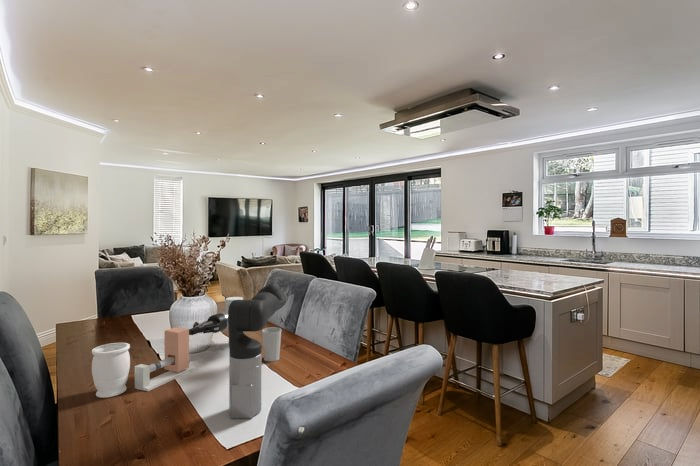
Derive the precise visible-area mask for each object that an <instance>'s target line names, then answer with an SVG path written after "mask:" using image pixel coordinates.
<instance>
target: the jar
mask: <svg viewBox="0 0 700 466" xmlns="http://www.w3.org/2000/svg"><path fill="white" fill-rule="evenodd" d="M130 348H131V344H130V343H128V342H114V343H106V344H102V345H99V346H96V347H94V348H93V349H92V350H91V354H92V355H93V357H92V361H91V375H92V379H93V384H94V387H95V389H96V390H97V391H96V393H95V396H96V397H97V398H100V399H101V398H102V399H104V398H113V397H116V396H119V395H121V394H123V393H124V392H126V391H127V386H126V384H127V382H128V379H129V372H130V369H131V356H130V352H129V350H130Z"/></svg>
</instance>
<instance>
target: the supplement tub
mask: <svg viewBox="0 0 700 466" xmlns="http://www.w3.org/2000/svg"><path fill="white" fill-rule="evenodd" d="M234 300H244V297H242V296H230V297H226V298H225V300H224V307H225V309H224V312H226V311H228V309H229V306H230V303H231V302H232V301H234Z"/></svg>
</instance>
